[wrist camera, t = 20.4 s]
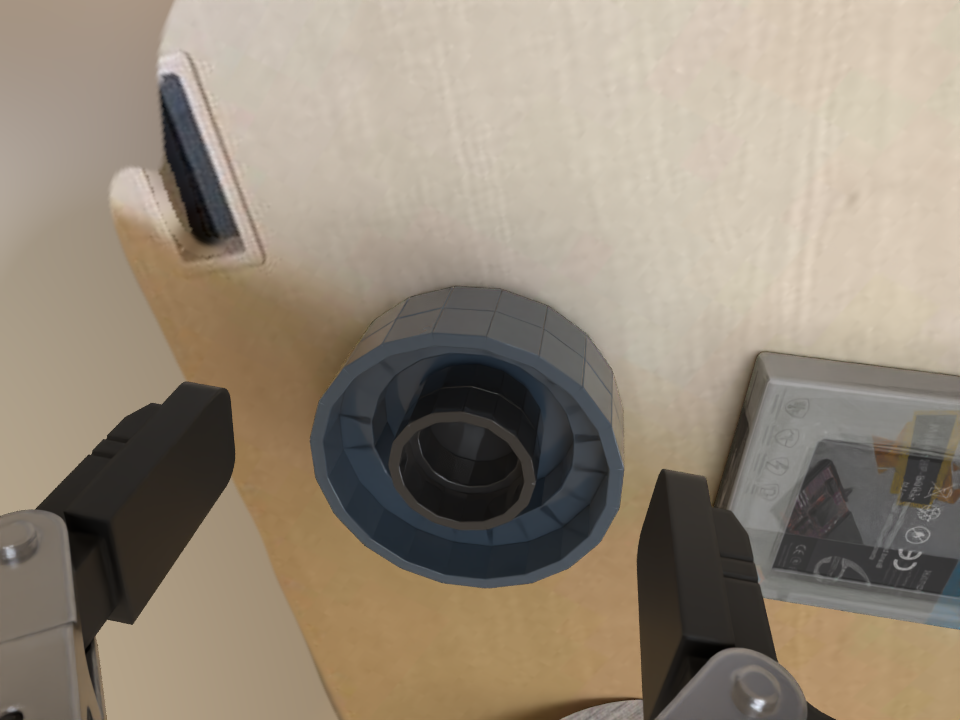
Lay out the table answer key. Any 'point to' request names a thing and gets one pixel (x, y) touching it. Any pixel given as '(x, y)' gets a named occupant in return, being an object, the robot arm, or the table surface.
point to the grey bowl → (564, 453)
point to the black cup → (468, 448)
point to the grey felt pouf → (611, 711)
